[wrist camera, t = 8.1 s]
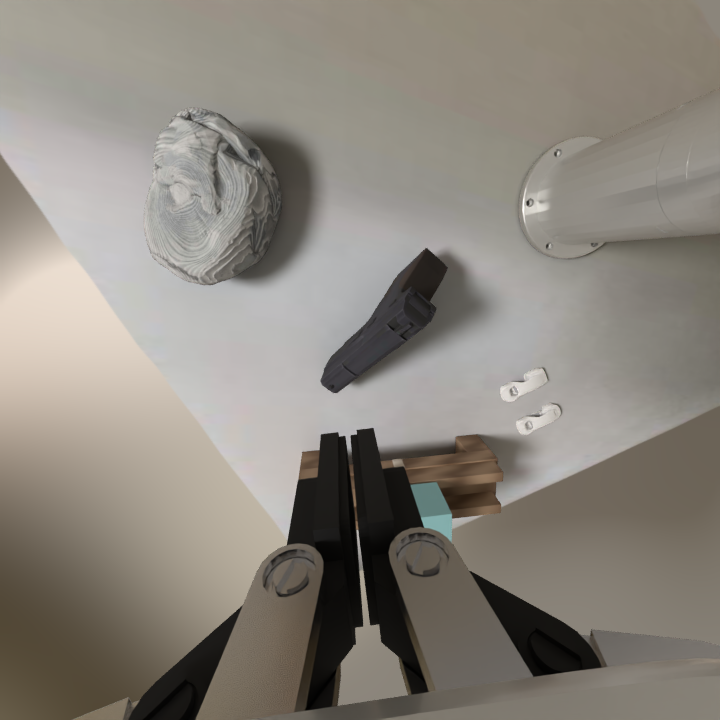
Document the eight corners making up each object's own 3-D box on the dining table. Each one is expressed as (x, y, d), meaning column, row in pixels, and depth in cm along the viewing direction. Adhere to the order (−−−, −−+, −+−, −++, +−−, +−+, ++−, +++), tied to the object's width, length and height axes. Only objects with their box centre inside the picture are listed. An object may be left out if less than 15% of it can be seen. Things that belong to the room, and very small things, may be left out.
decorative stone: (186, 309, 36) (129, 272, 26) (131, 201, 37) (57, 126, 27) (309, 250, 38) (300, 195, 28) (253, 149, 39) (225, 61, 29)
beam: (477, 433, 47) (507, 469, 39) (475, 472, 48) (504, 514, 40) (302, 451, 45) (296, 492, 37) (307, 490, 47) (302, 538, 39)
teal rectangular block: (430, 468, 40) (451, 513, 33) (430, 508, 42) (451, 559, 35) (393, 472, 40) (407, 519, 33) (395, 512, 41) (408, 564, 34)
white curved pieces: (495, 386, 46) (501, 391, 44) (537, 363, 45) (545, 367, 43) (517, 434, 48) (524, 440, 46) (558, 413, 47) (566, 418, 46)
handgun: (449, 265, 37) (432, 331, 29) (365, 338, 48) (336, 400, 40) (426, 244, 36) (403, 306, 28) (346, 323, 47) (313, 384, 39)
